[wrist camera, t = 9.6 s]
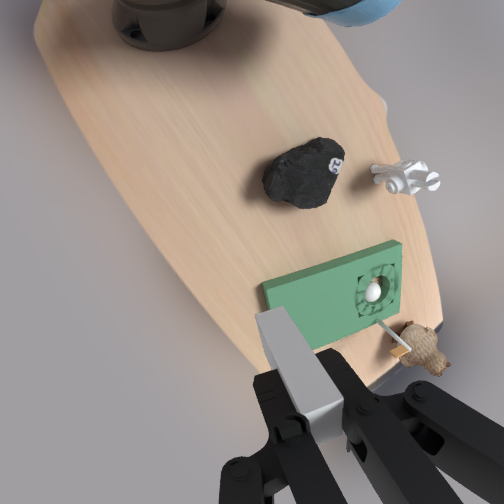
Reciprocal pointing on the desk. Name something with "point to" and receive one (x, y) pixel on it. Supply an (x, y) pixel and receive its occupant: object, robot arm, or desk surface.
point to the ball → (372, 292)
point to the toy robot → (405, 177)
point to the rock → (305, 173)
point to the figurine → (422, 349)
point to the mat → (341, 295)
